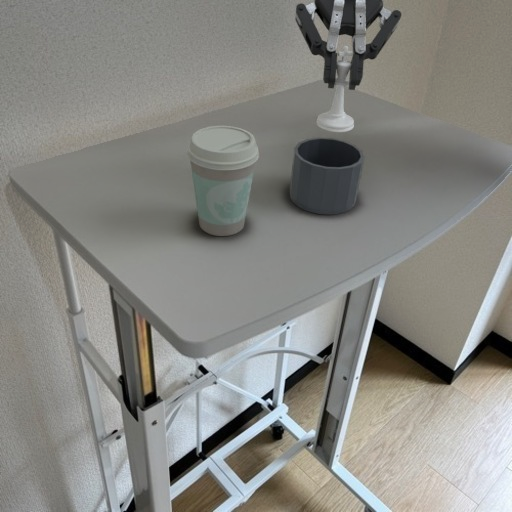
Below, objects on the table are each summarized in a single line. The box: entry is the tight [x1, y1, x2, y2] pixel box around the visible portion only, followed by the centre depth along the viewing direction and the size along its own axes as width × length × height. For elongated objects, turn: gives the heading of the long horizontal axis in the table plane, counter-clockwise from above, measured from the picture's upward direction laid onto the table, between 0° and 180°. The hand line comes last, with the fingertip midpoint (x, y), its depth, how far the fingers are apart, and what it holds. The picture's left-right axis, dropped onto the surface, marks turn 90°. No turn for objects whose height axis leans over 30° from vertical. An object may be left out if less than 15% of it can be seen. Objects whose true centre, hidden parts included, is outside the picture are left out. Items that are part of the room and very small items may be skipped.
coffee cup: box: [186, 125, 260, 237], centre depth 68 cm, size 8×8×12 cm
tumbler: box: [289, 136, 365, 216], centre depth 76 cm, size 9×9×7 cm
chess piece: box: [315, 45, 355, 133], centre depth 69 cm, size 5×5×10 cm
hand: (342, 85), depth 67 cm, fingers closed on chess piece
